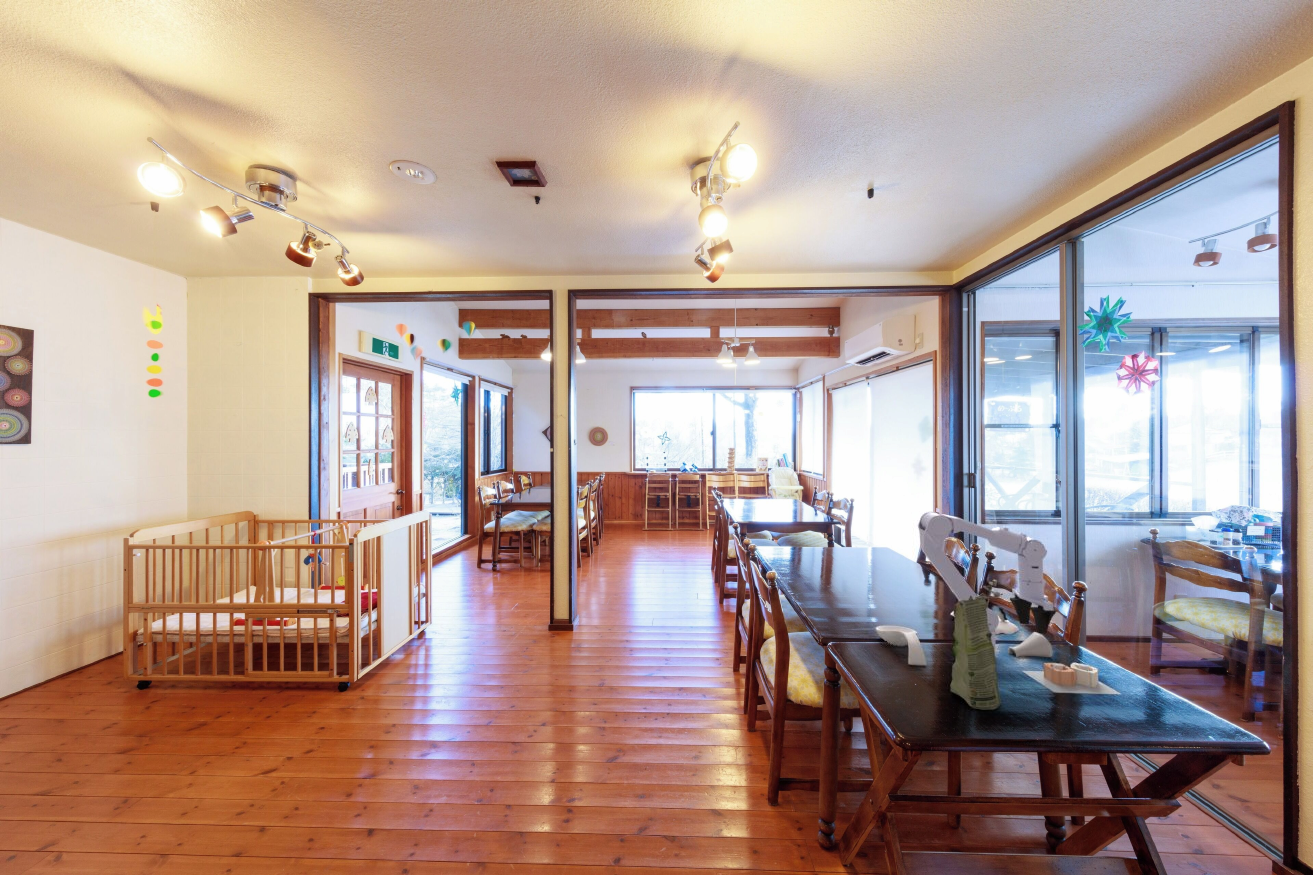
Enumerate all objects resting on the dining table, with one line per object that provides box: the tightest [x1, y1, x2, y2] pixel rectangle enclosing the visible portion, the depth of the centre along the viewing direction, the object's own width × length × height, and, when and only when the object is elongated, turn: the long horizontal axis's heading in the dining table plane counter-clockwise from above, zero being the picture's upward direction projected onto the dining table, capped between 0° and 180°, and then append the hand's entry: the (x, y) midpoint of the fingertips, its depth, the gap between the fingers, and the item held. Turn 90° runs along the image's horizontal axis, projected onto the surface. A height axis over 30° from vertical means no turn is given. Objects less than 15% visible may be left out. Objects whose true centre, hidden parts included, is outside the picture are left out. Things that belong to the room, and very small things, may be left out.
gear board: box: [1022, 662, 1123, 695], centre depth 129 cm, size 16×12×5 cm
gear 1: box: [1043, 662, 1075, 686], centre depth 130 cm, size 5×5×4 cm
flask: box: [1007, 631, 1053, 658], centre depth 147 cm, size 7×7×10 cm
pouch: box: [950, 592, 1002, 711], centre depth 122 cm, size 11×12×25 cm
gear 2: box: [1069, 662, 1099, 687], centre depth 130 cm, size 5×5×4 cm
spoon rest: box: [875, 625, 927, 666], centre depth 153 cm, size 24×12×7 cm, turn 173°
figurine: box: [950, 579, 1020, 635], centre depth 175 cm, size 20×18×16 cm
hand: (1032, 628), depth 143 cm, fingers open, 7 cm apart
